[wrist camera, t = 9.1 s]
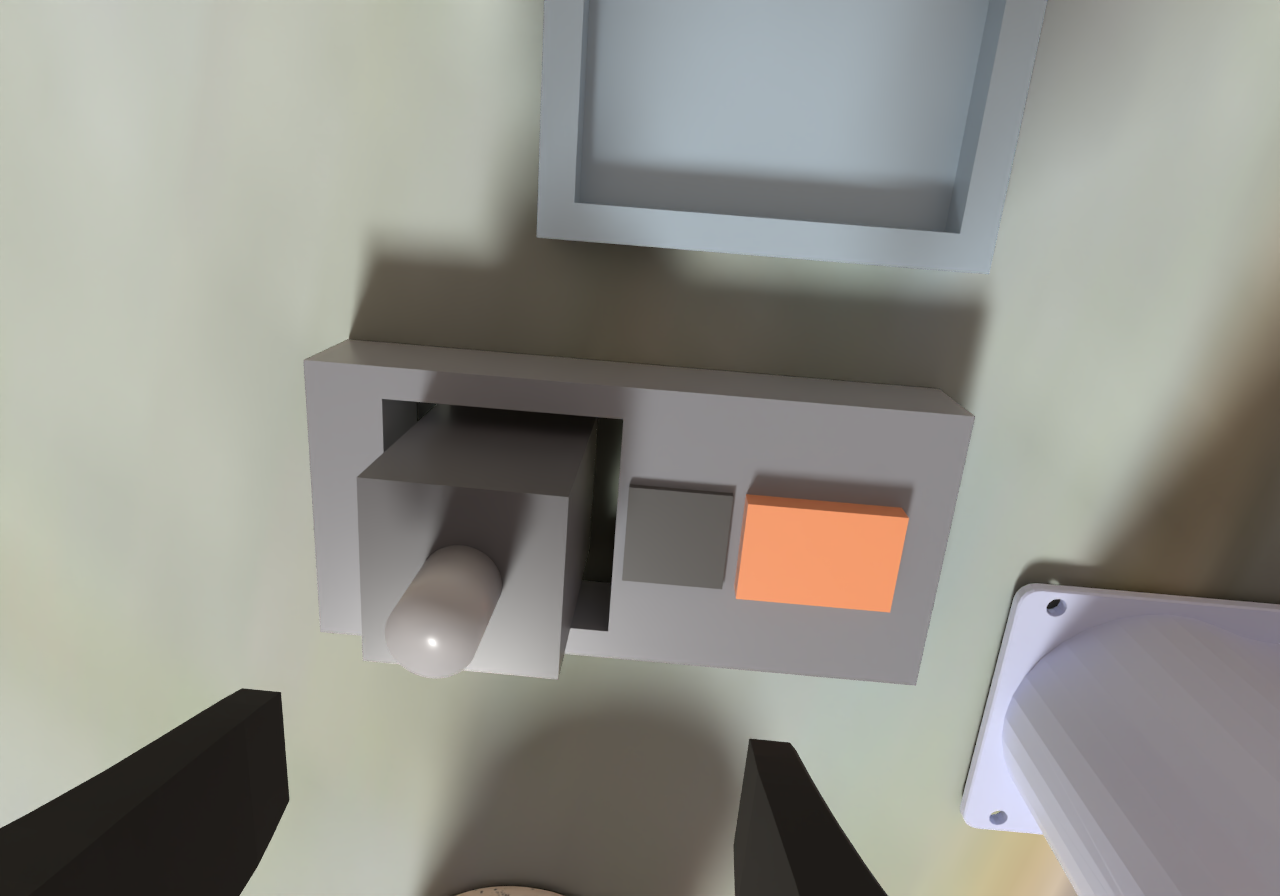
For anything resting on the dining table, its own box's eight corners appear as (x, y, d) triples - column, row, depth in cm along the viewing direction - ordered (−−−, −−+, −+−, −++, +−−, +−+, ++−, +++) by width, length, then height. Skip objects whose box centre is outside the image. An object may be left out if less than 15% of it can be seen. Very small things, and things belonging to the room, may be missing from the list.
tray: (1068, -246, 16) (1110, -293, 14) (963, 267, 19) (989, 274, 17) (566, -282, 16) (555, -331, 14) (547, 233, 19) (536, 237, 17)
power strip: (938, 388, 20) (985, 424, 17) (890, 631, 22) (922, 699, 19) (347, 339, 20) (291, 365, 17) (358, 584, 22) (310, 644, 19)
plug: (599, 410, 20) (553, 543, 13) (589, 549, 22) (542, 746, 14) (445, 396, 20) (309, 520, 13) (445, 536, 22) (320, 724, 14)
